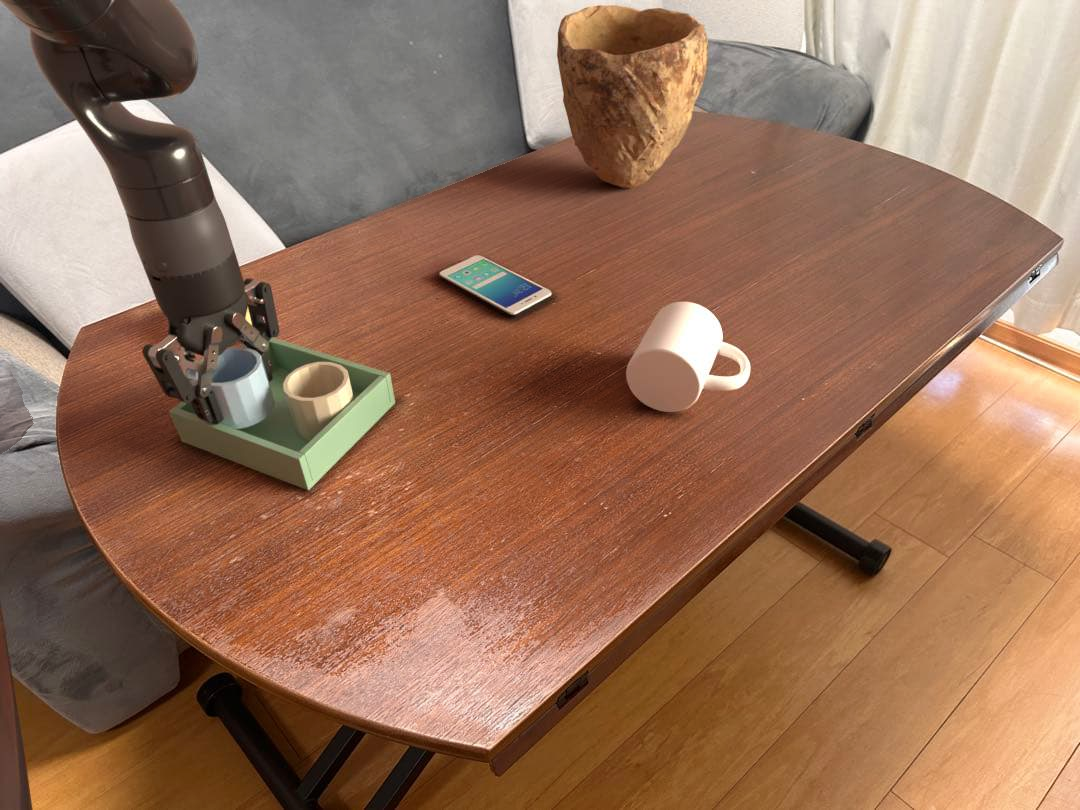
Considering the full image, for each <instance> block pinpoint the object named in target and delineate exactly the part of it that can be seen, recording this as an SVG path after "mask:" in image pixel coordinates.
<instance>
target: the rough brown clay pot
mask: <svg viewBox="0 0 1080 810" xmlns="http://www.w3.org/2000/svg"><path fill="white" fill-rule="evenodd" d="M556 48H557V49H556V57H557V64H558V71H559V76H560V82H561V86H562V92H563V93H562V94H563V96H562V103H563V106H564V109H565V113H566V117H567V120H568V121H567V122H568V126H569V129H570V133H571V137H572V138H573V140H574V146H576V147H577V149H578V151H579V152H580V154H581V157H582V159H583V161H584V163H585V164H586V165H587V166H588V167H589V168H590V169H591V171H592V172H593V173H594V174H595V175H596V176H597V177H598V178H599V180H601V181H603V182H605V183H609V184H611V185H613V186H617V187H619V188H622V189H625V188H626V189H628V188H631V189H633V188H635V187H639V186H640V185H642V184H644V183H646V182H648V181H649V179H650V178H651V177H652V176H653V174H654V173H655V172H657V171H658V170H659V169H660V168H661V167H662V166H663V165H664V163H665V161H666V159H667V158H669V156H670V154H671V153H672V152H673V150H674V149H676V148H677V147H678V145H679V144H680V142H681V141H682V139H683V138H684V136H685V134H686V132H687V130H688V128H689V125H690V123H691V121H692V120H693V110H694V106H695V105H696V102H697V99H698V98H699V95H700V92H701V89H702V87H703V84H704V82H705V80H706V74H707V67H708V66H707V65H708V57H709V38H708V35H707V32H706V27H705V24H702V23H700V22H699V21H698V20H697V19H696V18H695V17H694V16H692V15H691V14H690V13H688V12H687V13H685V12H681V11H675V10H670V9H665V8H661V7H655V8H647V9H643V10H640V9H637V8H632V7H628V6H623V5H618V4H617V5H615V4H614V5H602V4H599V5H593V6H587V7H584V8H582V9H580V10H578V11H575V12H572V13H569V14H566V15H564V17H563V18H562V19H561V20H560V23H559V26H558V31H557V47H556Z"/></svg>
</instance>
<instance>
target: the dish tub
mask: <svg viewBox="0 0 1080 810" xmlns="http://www.w3.org/2000/svg"><path fill="white" fill-rule="evenodd" d="M268 343H269V348H268V350H267V351H268V354H269V357H270V361H271V364H272V367H273V373H272V377H273V380H271V381H270V382H269V383H270V386H271V389H272V393H273V397H274V401H275V404H274V408H273V410H272V412H271V413H270V414H269V415H268V416H267V417H266V418H265V419H263V420H262V421H260V422H259V423H257V424H254V425H252V426H249V427H245V428H241V429H234V428H231V427H228V426H225V425H223V424H220V423H219V424H214V423H210V422H207V421H204V420H202V419H200V418H198V417H197V415H196V413H195V410H194V408H193V405H192V403H191V402H190V403H185V402H182V401H180V402H179V403H177V404H176V405H174V407H172V408H170V410H168V413H169V416H170V417H171V420H172V423H173V425H174V427H175V430H176V432H177V434H178V436H179V439H180V441H181V442H182V443H184V444H187V445H190V446H192V447H195V448H197V449H200V450H203V451H205V452H207V453H211V454H213V455H216V456H218V457H221V458H222V459H227V460H229V461H231V462H233V463H237V464H239V465H242V466H244V467H246V468H249V469H252V470H254V471H257V472H259V473H263V474H265V475H267V476H270V477H272V478H275V479H278V480H280V481H282V482H286V483H287V484H290V485H294V486H295V487H299V488H301V489H304V490H305V491H310V490H311V489H312V488H313V487H314V486H315V485H316V484H317V483H318V482H319V481H320V480H321V479H322V478H323V477H324V476H325V475H326V473H328V471H330V470H331V469H332V468H333V466H335V465H336V464H337V463H338V461H339V460H341V459H342V458H343V457H344V456H345V454H346V453H347V452H348V451H349V450H350V449H351V448H352V447H353V446H355V444H357V442H359V440H360V439H361V438H362V437H363V436H364V435H365V434H366V433H367V432H368V431H370V430H371V428H372V427H373V426H374V425H375V424H376V423H378V421H379V420H380V419H381V418H382V417H383V416H385V414H386V413H387V412H388V411H389V410H390V409H391V408H392V407H393V406H394V405H395V404H396V399H395V394H394V389H393V388H394V387H393V383H392V377H391V373H390V372H387V371H385V370H381V369H377V368H374V367H370V366H367V365H364V364H362V363H361V364H360V363H358V362H354V361H352V360H347V359H345V358H342V357H337V356H334V355H331V354H328V353H325V352H321V351H318V350H316V349H312V348H309V347H305V346H302V345H299V344H296V343H293V342H289V341H286V340H283V339H279V338H277V337H275V338H274V337H272V338H271V339H270V341H269V342H268ZM315 362H333V363H336V364H339V365H341V366H343V367H344V368H345V369H346V370H347V371H348V375H349V379H350V384H351V388H352V393H353V397H354V400H353V401H352V402H351V403H350V404H349V405H348V406H347V407H346V408H345V409H344V410H343V411H342V412H340V413H339V414H338V415H337V416H336V417H335V418H334V419H333V420H332V421H331V422H330V423H329V424H328V425H327V426H326V427H325V428H323V429H322V430H321V431H320V432H319V433H318V434H317V435H316V436H315V437H314V438H313V439H312V440H311V441H307V440H304V439H303V438H301V437H300V436H299V435H298V434H297V432H296V429H295V428H294V424H293V421H292V417H291V414H290V411H289V407H288V404H287V401H286V397H285V394H284V389H283V383H284V381H285V379H286V377H287V376H288V375H289V374H290V373H291V372H293V371H294V370H295V369H297V368H299V367H301V366H304V365H306V364H310V363H315Z"/></svg>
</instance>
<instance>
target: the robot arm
mask: <svg viewBox="0 0 1080 810" xmlns="http://www.w3.org/2000/svg"><path fill="white" fill-rule="evenodd" d="M0 2H1V4H2V5H3V6H4V7H5V8H6V9H7V10H8V11H10V12H11V13H12V15H14V16H15V18H16V19H18V20H19V22H20V23H22V24H23V25H24V26H25V27H27V28H28V29H29V41H30V46H31V50H32V53H33V55H34V59H35V61H36V63H37V65H38V68H39V69H40V71H41V73H42V75H43V76H44V78H45V80H46V81H47V82H48V84H49V85H50V86H51V88H52V89H53V91H54V93H55V94H56V95H57V97H58V98H59V99H60V100H61V102H62V103H63V105H64V106H65V107H66V108H67V110H68V111H69V112H70V114H71V115H72V116H73V117H74V119H75V120H76V122H77V123H78V125H79V126H80V127H81V128H82V130H83V131H84V133H85V134H86V135H87V137H88V139H89V140H90V141H91V143H92V145H93V146H94V148H95V150H97V152H98V154H99V155H100V157H101V159H102V160H103V162H104V164H105V165H106V168H107V169H108V171H109V174H110V176H111V179H112V181H113V184H114V186H115V189H116V191H117V193H118V196H119V198H120V201H121V204H122V206H123V209H124V212H125V215H126V218H127V222H128V227H129V230H130V235H131V239H132V241H133V245H134V247H135V249H136V251H137V255H138V257H139V259H140V263H141V264H142V266H143V269H144V272H145V274H146V276H147V280H148V282H149V285H150V287H151V290H152V293H153V295H154V298H155V300H156V302H157V305H158V307H159V308H160V311H162V313H163V314H164V316H165V318H166V319H167V325H168V326H167V336H166V337H165V338H163V339H162V340H161V341H160V342H158V343H157V344H151V343H147V344H145V345H143V347H142V353H141V354H142V355H143V358H144V359H145V361H146V363H147V365H148V366H149V368H150V370H151V372H152V374H153V375H154V377H155V379H156V381H157V383H158V384H159V386H160V388H161V390H162V392H163V393H164V395H165V396H166V397H169V398H172V399H174V400H178V401H180V402H185V403H190V402H191V403H192V405H193V408H194V410H195V413H196V415H197V417H198V418H200V419H202V420H204V421H207V422H210V423H214V424H219V423H220V422H221V421H222V420H223V416H222V413H221V411H220V408H219V405H218V403H217V400H216V397H215V395H214V392H212V391H211V381H212V374H213V373H215V372H216V370H217V362H218V356H220V355H221V354H222V353H223V352H224V351H225V350H226V349H227V348H229V347H233V346H235V345H236V344H237V343H239V344H241V345H242V347H247V348H250V349H253V350H256V351H257V352H258V353H259V354H260V355H261V357H262V360H263V364H264V367H265V370H266V373H267V377H268V380H269V382H270V381H271V380H273V377H272V373H273V367H272V364H271V361H270V357H269V354H268V351H267V350H268V348H269V343H268V342H269V341H270V339H271V338H277V337H278V336H279V334H280V325H279V322H278V315H277V311H276V310H277V309H276V304H275V300H274V295H273V290H272V286H271V284H270V283H268V282H265V281H260V280H257V279H253V278H249V277H248V278H245V279H244V278H243V274H242V271H241V267H240V265H239V261H238V257H237V254H236V250H235V248H234V244H233V241H232V238H231V235H230V232H229V228H228V225H227V222H226V218H225V215H224V213H223V212H222V209H221V207H220V205H219V203H218V200H217V198H216V196H215V193H214V189H213V185H212V183H211V179H210V176H209V172H208V169H207V166H206V164H205V163H206V162H205V159H204V156H203V153H202V150H201V147H200V145H199V142H198V140H197V138H196V136H195V135H194V134H193V133H192V132H191V130H189V129H188V128H185V127H183V126H180V125H178V124H173V123H167V122H161V121H155V120H150V119H145V118H143V117H142V118H141V117H139V116H136V115H135V114H133V113H132V112H131V111H129V110H128V108H127V107H125V105H124V104H122V103H123V102H134V101H147V100H160V99H168V98H173V97H177V96H179V95H181V94H183V93H184V92H186V91H187V90H188V89H189V88H190V87H191V86H192V85H193V83H194V81H195V79H196V77H197V74H198V69H199V53H198V48H197V44H196V41H195V37H194V35H193V32H192V30H191V28H190V26H189V23H188V22H187V20H186V19H185V17H184V16H183V15H182V14H183V13H181V12H180V10H179V9H178V7H177V6H176V5H175V4H174V3H173V1H172V0H0ZM121 102H122V103H121ZM247 307H248V309H249V314H250V318H251V323H252V325H251V324H250V323H249V322H248V321H247V320H246V318H245V317H246V312H247ZM263 317H264V320H263ZM179 348H180V351H179ZM178 351H179V352H178ZM195 354H196V355H199V356H201V357H203V358H204V359H203V361H201V359H198V358H197V357H196V355H195ZM196 372H198V381H196ZM3 615H4V614H3V610H2V603H1V602H0V810H33V803H32V796H31V788H30V781H29V773H28V766H27V759H26V753H25V747H24V740H23V735H22V728H21V722H20V716H19V711H18V704H17V698H16V692H15V686H14V679H13V671H12V665H11V659H10V653H9V648H8V640H7V635H6V628H5V622H4V617H3Z"/></svg>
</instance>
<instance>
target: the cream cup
mask: <svg viewBox="0 0 1080 810" xmlns="http://www.w3.org/2000/svg"><path fill="white" fill-rule="evenodd" d="M283 389H284V394H285V397H286V401H287V404H288V407H289V411H290V414H291V417H292V421H293V424H294V428H295V429H296V432H297V434H298V435H299V436H300V437H301V438H303V439H304V440H307V441H311V440H312V439H313V438H314V437H315V436H316V435H317V434H318V433H319V432H320V431H321V430H322V429H323V428H325V427H326V426H327V425H328V424H329V423H330V422H331V421H332V420H333V419H334V418H335V417H336V416H337V415H338V414H339V413H340V412H342V411H343V410H344V409H345V408H346V407H347V406H348V405H349V404H350V403H351V402H352V401H353V400H354V397H353V393H352V388H351V384H350V379H349V375H348V371H347V370H346V369H345V368H344V367H343V366H341V365H339V364H336V363H333V362H315V363H310V364H306V365H304V366H301V367H299V368H297V369H295V370H294V371H293V372H291V373H290V374H289V375H288V376H287V377H286V379H285V381H284V383H283Z"/></svg>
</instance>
